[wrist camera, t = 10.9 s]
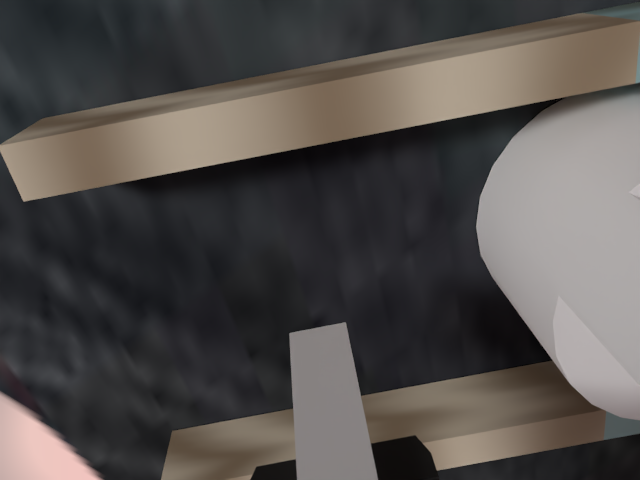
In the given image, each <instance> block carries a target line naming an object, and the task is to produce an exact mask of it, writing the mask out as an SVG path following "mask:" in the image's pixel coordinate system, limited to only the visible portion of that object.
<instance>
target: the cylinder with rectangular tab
mask: <svg viewBox="0 0 640 480" xmlns="http://www.w3.org/2000/svg"><path fill="white" fill-rule="evenodd" d="M476 229H477V236H478V242H479V248H480V254H481V256H482V258H483V260H484V262H485V264H486V266H487V268H488V270H489V272H490V274H491V276H492V278H493V279H494V280H495V282H496V283H497V285H498V286H499V287H500V289H501V290H502V291H503V293H504V294H505V296H506V297H507V298H508V300H509V301H510V302H511V304H512V305H513V307H514V308H515V309H516V311H517V312H518V313H519V315H520V316H521V318H522V319H523V320H524V322H525V323H526V324H527V326H528V327H529V329H530V330H531V331H532V333H533V334H534V335H535V337H536V338H537V340H538V341H539V342H540V344H541V345H542V346H543V348H544V349H545V351H546V352H547V353H548V355H549V356H550V357H551V359H552V360H553V362H554V363H555V364H556V366H557V367H558V368H559V370H560V371H561V372H562V374H563V375H564V377H565V378H566V379H567V381H568V382H569V383H570V384H571V385H572V386H573V387H574V388H575V389H576V390H577V391H578V392H579V393H580V394H581V395H582V396H583V397H584V398H585V399H587V400H588V401H589V402H590V403H591V404H592V405H594V406H596V407H599V408H601V409H603V410H605V411H608V412H610V413H612V414H614V415H616V416H619V417H621V418H628V419H634V420H640V83H635V84H630V85H625V86H620V87H614V88H609V89H604V90H599V91H594V92H589V93H583V94H578V95H573V96H568V97H566V98H564V99H562V100H560V101H559V102H557V103H555V104H553V105H551V106H550V107H548V108H546V109H544V110H543V111H541V112H540V113H539V114H538V115H537V116H536V117H535V118H533V119H532V120H531V121H530V122H529V123H528V124H527V125H526V126H525V127H523V128H522V129H521V130H520V131H519V132H518V133H517V134H516V135H515V136H514V137H513V138H512V139H511V141H510V142H509V144H508V145H507V146H506V148H505V149H504V151H503V152H502V153H501V155H500V156H499V158H498V159H497V160H496V162H495V163H494V165H493V166H492V169H491V171H490V174H489V176H488V179H487V181H486V183H485V186H484V188H483V191H482V193H481V196H480V201H479V209H478V216H477V224H476Z"/></svg>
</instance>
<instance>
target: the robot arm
mask: <svg viewBox="0 0 640 480" xmlns="http://www.w3.org/2000/svg"><path fill="white" fill-rule="evenodd" d="M289 335H290V355H291V374H292V393H293V412H294V432H295V451H296V459H294V460H289V461H283V462H278V463H273V464H268V465H262V466H257V467H256V468H255V470H254V473H253V475H252V477H251V479H250V480H439V476H438V473H437V470H436V467H435V464H434V460H433V457H432V454H431V452H430V451H429V450H428V449H427V448H426V447H425V445H424V444H423V443H422V442H421V441H420V440H419V439H418V438H417V436H416V435H413V436H408V437H402V438H397V439H392V440H387V441H381V442H376V443H370V438H369V433H368V428H367V424H366V419H365V414H364V409H363V404H362V399H361V394H360V390H359V385H358V380H357V375H356V370H355V365H354V361H353V356H352V351H351V346H350V341H349V336H348V331H347V327H346V322H345V323H340V324H334V325H329V326H324V327H319V328H314V329H309V330H303V331H298V332H293V333H289Z"/></svg>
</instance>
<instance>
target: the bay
mask: <svg viewBox="0 0 640 480" xmlns="http://www.w3.org/2000/svg"><path fill="white" fill-rule="evenodd" d="M635 83H640V2H636V3H631V4H626V5H621V6H615V7H610V8H605V9H600V10H595V11H590V12H585V13H580V14H575V15H569V16H564V17H559V18H554V19H549V20H544V21H539V22H534V23H528V24H523V25H518V26H513V27H508V28H503V29H498V30H493V31H488V32H482V33H477V34H472V35H467V36H462V37H457V38H452V39H447V40H442V41H436V42H431V43H426V44H421V45H416V46H411V47H406V48H401V49H395V50H390V51H385V52H380V53H375V54H370V55H365V56H360V57H355V58H349V59H344V60H339V61H334V62H329V63H324V64H319V65H314V66H309V67H303V68H298V69H293V70H288V71H283V72H278V73H273V74H268V75H262V76H257V77H252V78H247V79H242V80H237V81H232V82H227V83H222V84H216V85H211V86H206V87H201V88H196V89H191V90H186V91H181V92H176V93H170V94H165V95H160V96H155V97H150V98H145V99H140V100H135V101H129V102H124V103H119V104H114V105H109V106H104V107H99V108H94V109H89V110H83V111H78V112H73V113H68V114H63V115H58V116H53V117H48V118H43V119H41V120H39V121H38V122H36V123H35V124H33V125H31V126H30V127H28V128H26V129H25V130H23V131H22V132H20V133H18V134H17V135H15V136H13V137H12V138H10V139H9V140H7V141H5V142H4V143H2V144H1V145H0V152H1V154H2V156H3V158H4V160H5V162H6V165H7V167H8V169H9V171H10V173H11V175H12V178H13V180H14V182H15V184H16V186H17V188H18V190H19V193H20V195H21V197H22V199H23V201H29V200H34V199H40V198H45V197H50V196H55V195H60V194H65V193H71V192H76V191H81V190H86V189H91V188H97V187H102V186H107V185H112V184H117V183H122V182H128V181H133V180H138V179H143V178H148V177H154V176H159V175H164V174H169V173H174V172H179V171H185V170H190V169H195V168H200V167H205V166H210V165H216V164H221V163H226V162H231V161H236V160H242V159H247V158H252V157H257V156H262V155H267V154H273V153H278V152H283V151H288V150H293V149H299V148H304V147H309V146H314V145H319V144H324V143H330V142H335V141H340V140H345V139H350V138H355V137H361V136H366V135H371V134H376V133H381V132H387V131H392V130H397V129H402V128H407V127H412V126H418V125H423V124H428V123H433V122H438V121H444V120H449V119H454V118H459V117H464V116H469V115H475V114H480V113H485V112H490V111H495V110H500V109H506V108H511V107H516V106H521V105H526V104H532V103H537V102H542V101H547V100H552V99H557V98H563V97H568V96H573V95H578V94H583V93H589V92H594V91H599V90H604V89H609V88H614V87H620V86H625V85H630V84H635ZM361 399H362V404H363V409H364V414H365V419H366V424H367V428H368V433H369V438H370V443H376V442H381V441H387V440H392V439H397V438H402V437H408V436H413V435H416V436H417V438H418V439H419V440H420V441H421V442H422V443H423V444H424V445H425V447H426V448H427V449H428V450H429V451H430V452H431V454H432V457H433V460H434V464H435V467H436V470H442V469H448V468H453V467H459V466H464V465H470V464H475V463H481V462H486V461H492V460H497V459H503V458H508V457H514V456H519V455H525V454H530V453H536V452H541V451H546V450H552V449H557V448H563V447H568V446H574V445H579V444H585V443H590V442H596V441H601V440H607V439H612V438H618V437H623V436H629V435H634V434H639V433H640V420H634V419H628V418H621V417H619V416H616V415H614V414H612V413H610V412H608V411H605V410H603V409H601V408H599V407H596V406H594V405H592V404H591V403H590V402H589V401H588V400H587V399H585V398H584V397H583V396H582V395H581V394H580V393H579V392H578V391H577V390H576V389H575V388H574V387H573V386H572V385H571V384H570V383H569V382H568V381H567V379H566V378H565V377H564V375H563V374H562V372H561V371H560V370H559V368H558V367H557V366H556V364H555V363H554V362H553V360H552V361H547V362H542V363H536V364H531V365H525V366H520V367H515V368H509V369H504V370H498V371H493V372H488V373H482V374H477V375H471V376H466V377H461V378H455V379H450V380H444V381H439V382H434V383H428V384H423V385H417V386H412V387H407V388H401V389H396V390H391V391H385V392H380V393H374V394H369V395H364V396H361ZM294 459H296V451H295V432H294V412H293V409H288V410H283V411H277V412H272V413H266V414H261V415H256V416H250V417H245V418H239V419H234V420H229V421H223V422H218V423H213V424H207V425H202V426H196V427H191V428H186V429H180V430H175V431H172V434H171V439H170V443H169V447H168V452H167V456H166V460H165V465H164V469H163V473H162V478H161V480H250V479H251V477H252V475H253V473H254V470H255V468H256V467H257V466H262V465H268V464H273V463H278V462H283V461H289V460H294Z"/></svg>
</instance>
